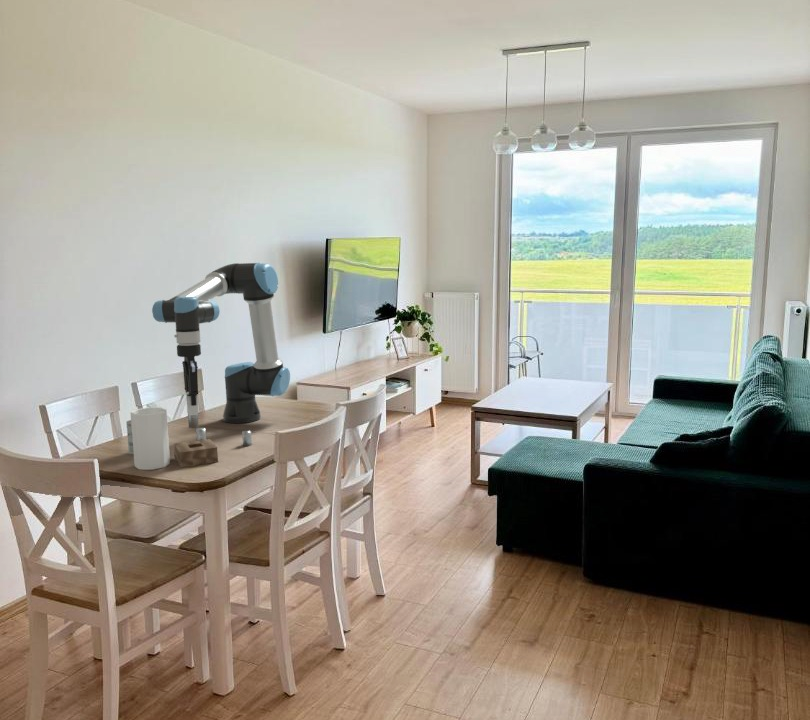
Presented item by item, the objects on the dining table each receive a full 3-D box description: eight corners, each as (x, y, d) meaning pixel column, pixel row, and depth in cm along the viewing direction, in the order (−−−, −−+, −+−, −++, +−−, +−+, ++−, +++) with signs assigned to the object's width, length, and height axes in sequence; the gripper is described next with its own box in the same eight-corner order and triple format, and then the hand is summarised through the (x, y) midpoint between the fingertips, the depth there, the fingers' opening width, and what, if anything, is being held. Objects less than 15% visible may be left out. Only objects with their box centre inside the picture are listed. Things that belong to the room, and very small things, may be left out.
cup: (154, 458, 255) (150, 405, 252) (177, 463, 249) (173, 408, 246) (127, 467, 246) (122, 412, 242) (150, 472, 240) (146, 416, 237)
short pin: (250, 443, 272) (249, 429, 271) (252, 445, 269) (252, 431, 269) (241, 444, 271) (241, 430, 270) (244, 446, 268) (243, 432, 267)
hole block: (210, 452, 260) (209, 439, 260) (218, 461, 250) (217, 447, 249) (175, 457, 255) (174, 443, 254) (181, 467, 245) (180, 452, 244)
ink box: (157, 452, 262) (155, 419, 261) (147, 456, 258) (144, 422, 256) (138, 450, 266) (135, 417, 264) (128, 453, 262) (125, 420, 260)
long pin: (197, 425, 252) (195, 390, 251) (199, 427, 250) (197, 391, 248) (187, 426, 251) (185, 391, 249) (189, 428, 248) (187, 392, 246)
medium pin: (206, 449, 265) (204, 427, 264) (207, 451, 262) (206, 429, 261) (196, 450, 264) (195, 428, 263) (198, 452, 261) (197, 430, 260)
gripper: (172, 342, 252) (177, 410, 255) (181, 347, 237) (185, 419, 241) (195, 340, 255) (199, 407, 259) (205, 345, 241) (209, 417, 244)
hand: (192, 413), depth 250 cm, fingers closed on long pin, 3 cm apart
